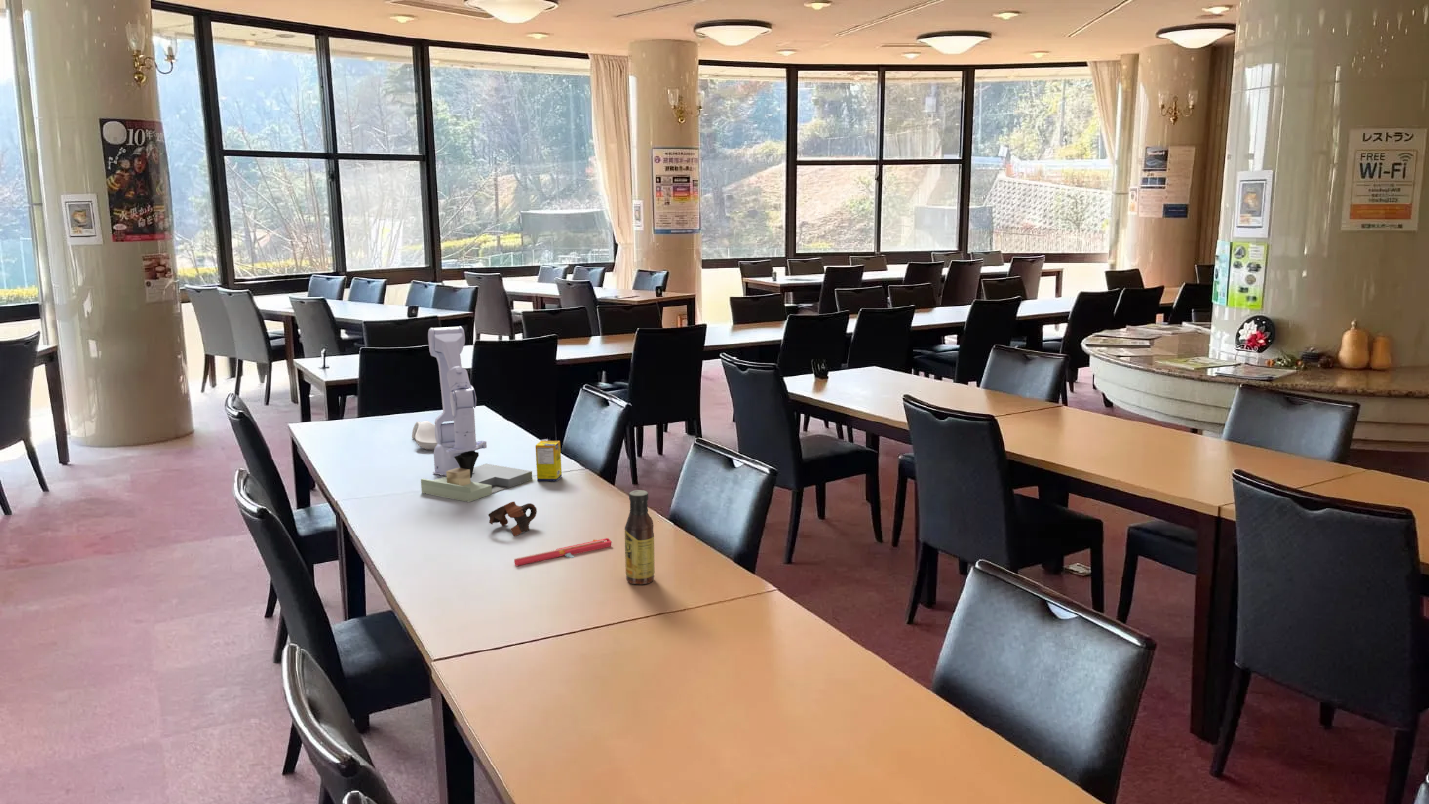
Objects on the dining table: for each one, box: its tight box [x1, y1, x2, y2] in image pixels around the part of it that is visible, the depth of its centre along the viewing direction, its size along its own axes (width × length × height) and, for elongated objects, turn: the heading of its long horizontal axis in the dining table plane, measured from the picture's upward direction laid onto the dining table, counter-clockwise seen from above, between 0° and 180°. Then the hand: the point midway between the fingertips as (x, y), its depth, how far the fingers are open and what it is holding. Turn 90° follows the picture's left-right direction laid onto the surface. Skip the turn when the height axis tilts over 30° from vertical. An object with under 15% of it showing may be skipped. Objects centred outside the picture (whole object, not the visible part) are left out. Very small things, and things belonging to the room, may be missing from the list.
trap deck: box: [420, 463, 533, 503], centre depth 291 cm, size 18×26×4 cm
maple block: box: [446, 468, 471, 486], centre depth 284 cm, size 4×4×4 cm
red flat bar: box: [513, 537, 613, 567], centre depth 233 cm, size 24×2×5 cm
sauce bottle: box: [624, 489, 656, 585], centre depth 215 cm, size 6×6×20 cm
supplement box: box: [535, 440, 563, 482], centre depth 297 cm, size 6×6×11 cm
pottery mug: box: [487, 501, 538, 537], centre depth 252 cm, size 12×10×8 cm
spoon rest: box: [411, 420, 438, 451], centre depth 341 cm, size 24×12×7 cm, turn 34°
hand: (467, 477), depth 287 cm, fingers closed
